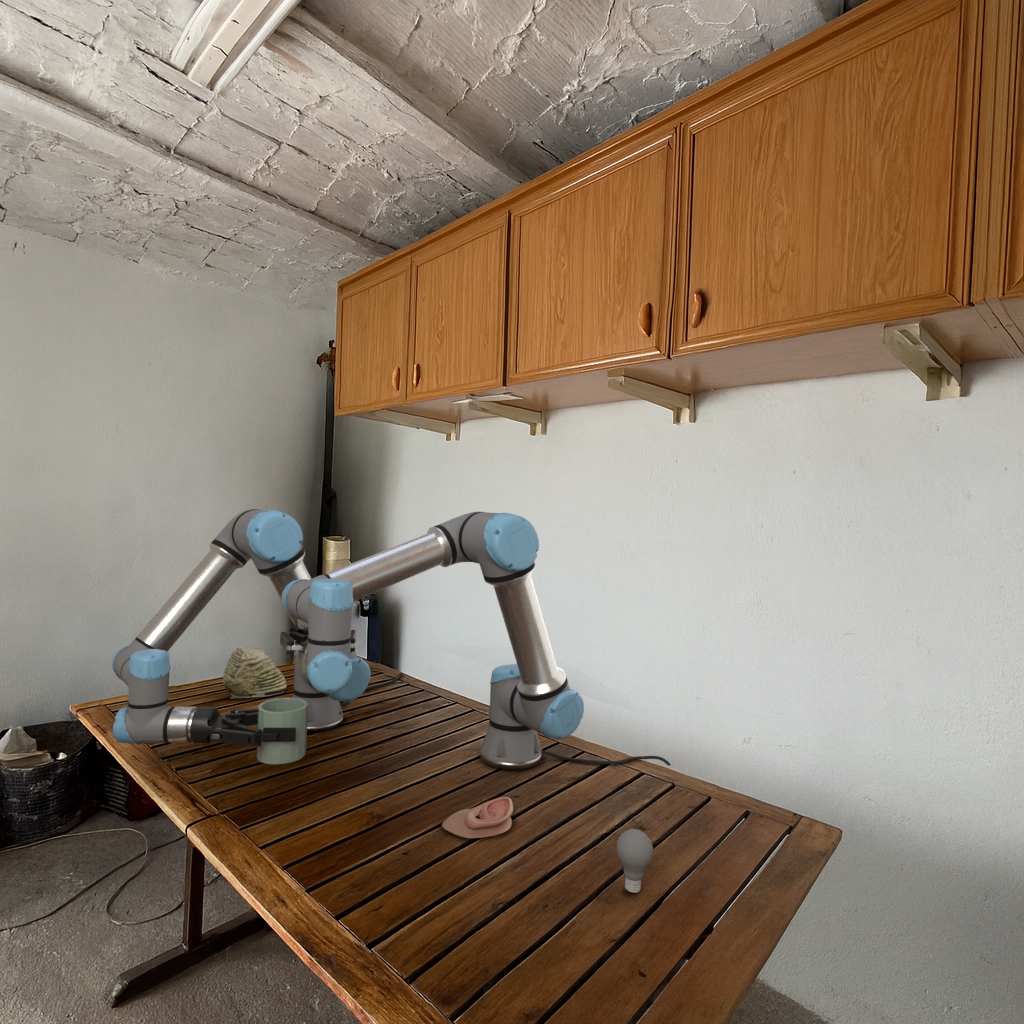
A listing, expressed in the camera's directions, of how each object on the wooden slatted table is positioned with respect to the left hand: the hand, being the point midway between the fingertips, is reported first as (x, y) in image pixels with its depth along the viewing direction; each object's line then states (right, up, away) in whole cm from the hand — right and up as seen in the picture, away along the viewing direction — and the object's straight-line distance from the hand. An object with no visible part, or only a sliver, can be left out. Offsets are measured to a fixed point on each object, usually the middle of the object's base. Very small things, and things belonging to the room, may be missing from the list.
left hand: (301, 725), depth 139 cm
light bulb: (+67, -16, -34) cm, 76 cm away
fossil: (-34, -10, +59) cm, 69 cm away
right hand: (+2, +20, +6) cm, 21 cm away
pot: (-4, -6, 0) cm, 8 cm away
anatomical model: (+40, -15, -14) cm, 45 cm away
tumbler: (+3, +12, +2) cm, 13 cm away
